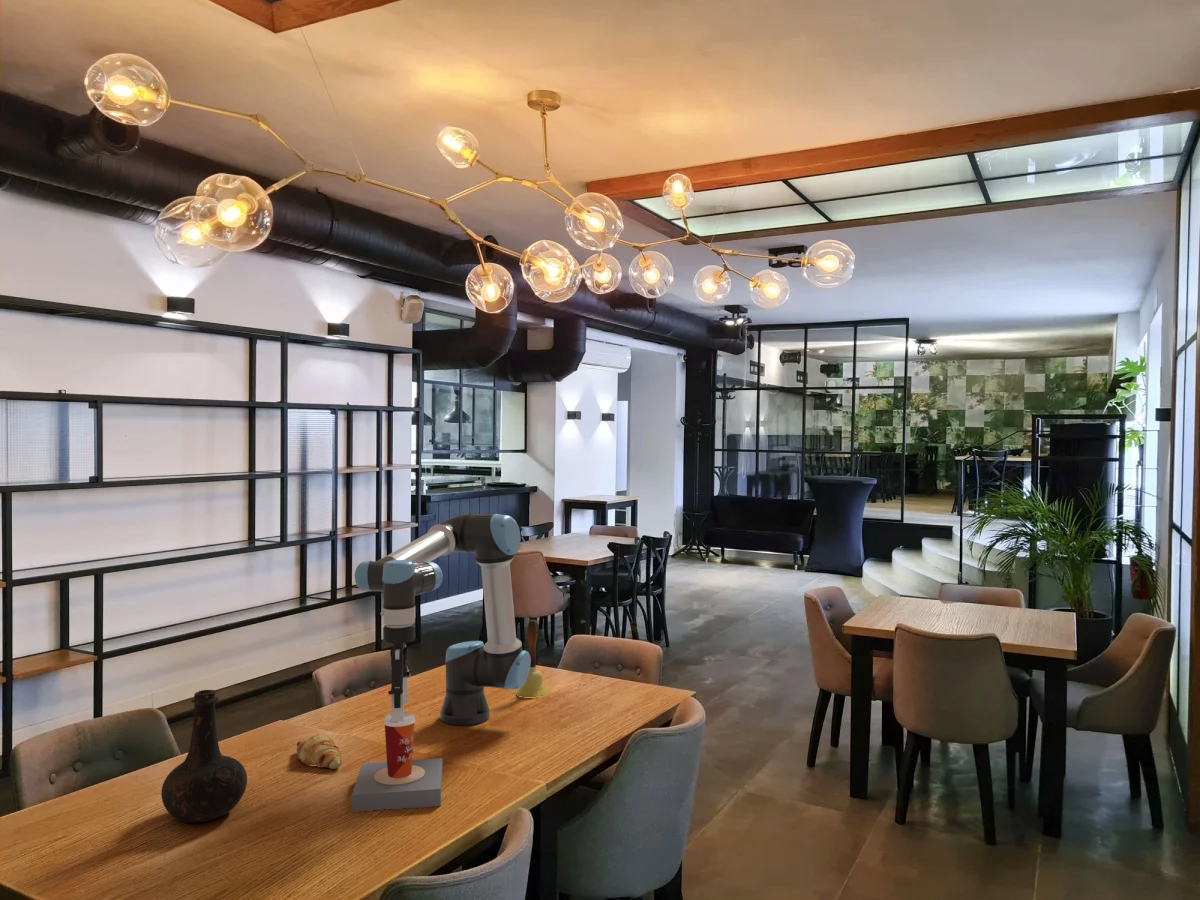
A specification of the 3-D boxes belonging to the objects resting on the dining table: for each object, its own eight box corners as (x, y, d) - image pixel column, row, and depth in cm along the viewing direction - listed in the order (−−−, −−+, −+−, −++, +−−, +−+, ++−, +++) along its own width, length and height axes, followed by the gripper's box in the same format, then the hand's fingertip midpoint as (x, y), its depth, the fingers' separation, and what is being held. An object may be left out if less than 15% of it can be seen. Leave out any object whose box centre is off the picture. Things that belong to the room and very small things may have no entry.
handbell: (514, 689, 292) (514, 617, 292) (549, 687, 293) (549, 616, 293) (514, 699, 279) (514, 624, 279) (551, 698, 281) (551, 623, 281)
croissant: (348, 781, 219) (361, 751, 221) (317, 773, 212) (331, 741, 215) (307, 760, 233) (320, 731, 236) (277, 751, 226) (290, 722, 229)
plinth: (361, 779, 211) (361, 761, 211) (442, 773, 214) (442, 756, 214) (351, 812, 191) (351, 793, 191) (440, 806, 195) (440, 787, 195)
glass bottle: (191, 839, 178) (191, 708, 179) (144, 820, 188) (144, 695, 188) (263, 809, 194) (263, 688, 194) (217, 792, 203) (217, 677, 203)
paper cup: (407, 780, 198) (407, 721, 198) (377, 778, 200) (377, 720, 200) (421, 768, 206) (421, 711, 206) (392, 766, 208) (392, 710, 208)
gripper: (387, 615, 215) (388, 697, 215) (378, 636, 190) (378, 729, 190) (417, 614, 216) (418, 696, 216) (411, 635, 191) (412, 727, 191)
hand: (399, 712), depth 203 cm, fingers open, 13 cm apart
